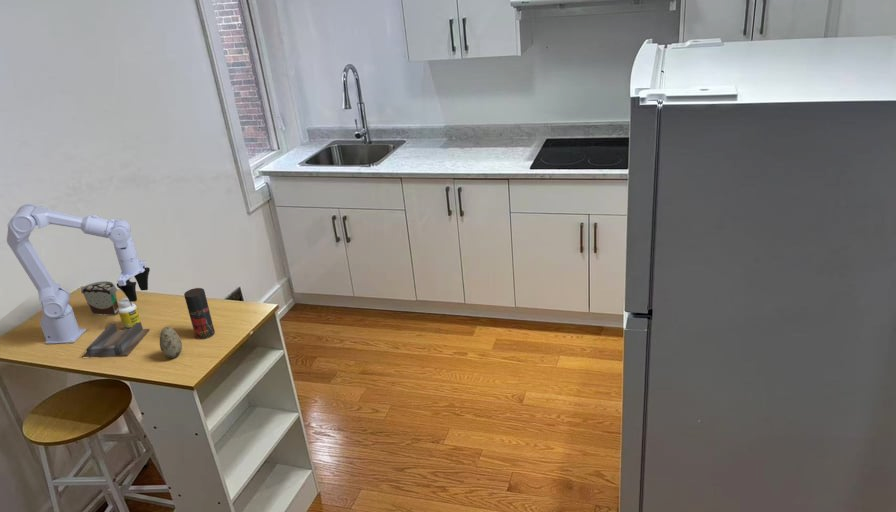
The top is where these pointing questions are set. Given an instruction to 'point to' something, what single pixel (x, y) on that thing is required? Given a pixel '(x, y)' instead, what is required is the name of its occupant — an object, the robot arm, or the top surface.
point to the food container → (101, 298)
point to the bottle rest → (116, 341)
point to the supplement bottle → (128, 313)
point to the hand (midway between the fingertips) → (139, 295)
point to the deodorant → (199, 313)
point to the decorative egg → (170, 342)
